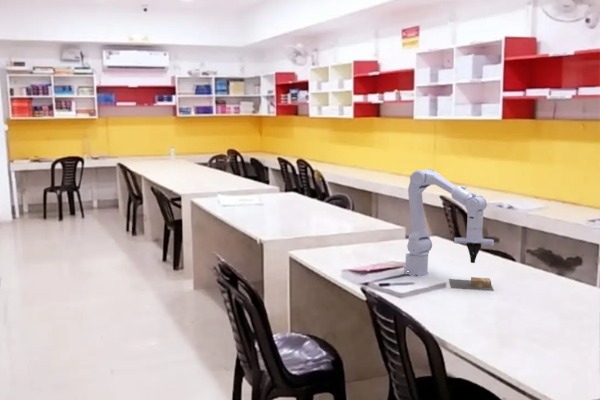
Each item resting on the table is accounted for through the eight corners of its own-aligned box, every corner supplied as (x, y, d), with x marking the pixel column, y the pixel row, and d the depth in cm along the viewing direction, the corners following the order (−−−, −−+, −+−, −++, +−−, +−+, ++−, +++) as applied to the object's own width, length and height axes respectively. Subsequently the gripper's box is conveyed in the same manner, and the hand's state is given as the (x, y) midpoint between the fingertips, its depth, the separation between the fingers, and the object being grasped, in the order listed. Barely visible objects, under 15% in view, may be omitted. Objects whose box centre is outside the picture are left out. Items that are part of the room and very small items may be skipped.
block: (472, 280, 235) (491, 281, 234) (471, 277, 240) (489, 278, 239) (472, 286, 236) (490, 287, 235) (470, 283, 241) (489, 284, 239)
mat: (450, 289, 233) (450, 288, 233) (448, 279, 246) (448, 278, 246) (494, 291, 231) (494, 290, 231) (489, 282, 243) (489, 281, 243)
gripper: (455, 228, 230) (453, 263, 232) (495, 230, 228) (493, 266, 230) (454, 225, 237) (452, 259, 239) (493, 227, 235) (491, 261, 237)
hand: (472, 262), depth 235 cm, fingers closed
